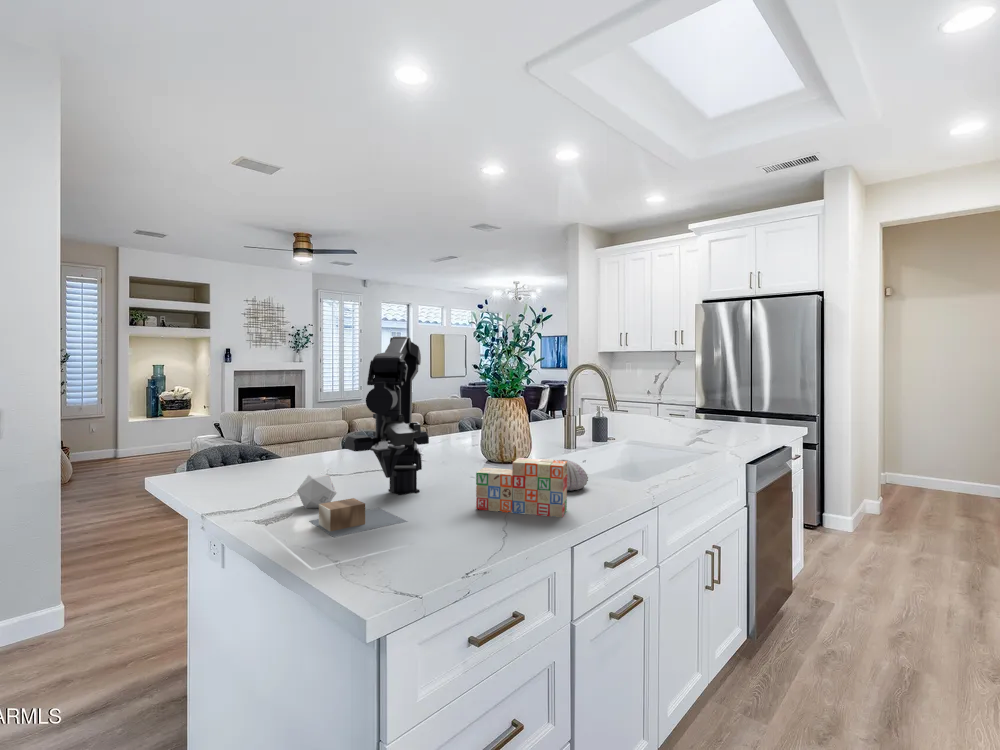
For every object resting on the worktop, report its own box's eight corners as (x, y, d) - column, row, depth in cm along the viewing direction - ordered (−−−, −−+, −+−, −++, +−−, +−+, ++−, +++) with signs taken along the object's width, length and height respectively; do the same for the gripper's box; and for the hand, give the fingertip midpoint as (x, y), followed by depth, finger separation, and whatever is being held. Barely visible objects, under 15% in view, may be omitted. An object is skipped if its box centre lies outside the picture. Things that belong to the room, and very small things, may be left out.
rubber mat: (378, 508, 129) (378, 507, 129) (407, 522, 118) (407, 521, 118) (308, 522, 118) (308, 520, 118) (333, 538, 107) (333, 537, 107)
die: (313, 517, 124) (338, 481, 127) (284, 497, 126) (310, 462, 129) (324, 519, 132) (347, 486, 135) (296, 501, 134) (320, 468, 136)
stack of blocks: (475, 510, 129) (475, 459, 128) (483, 503, 135) (483, 455, 134) (563, 518, 123) (563, 464, 122) (567, 510, 129) (567, 460, 128)
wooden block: (353, 498, 120) (318, 504, 115) (365, 503, 116) (329, 510, 111) (353, 517, 121) (318, 524, 116) (365, 524, 116) (329, 531, 111)
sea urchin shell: (534, 491, 147) (534, 462, 147) (547, 481, 160) (547, 454, 160) (582, 495, 143) (582, 466, 142) (591, 484, 155) (591, 457, 155)
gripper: (365, 415, 110) (365, 490, 110) (441, 410, 122) (441, 477, 122) (343, 411, 119) (344, 480, 119) (416, 407, 130) (416, 470, 131)
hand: (388, 477), depth 122 cm, fingers closed
